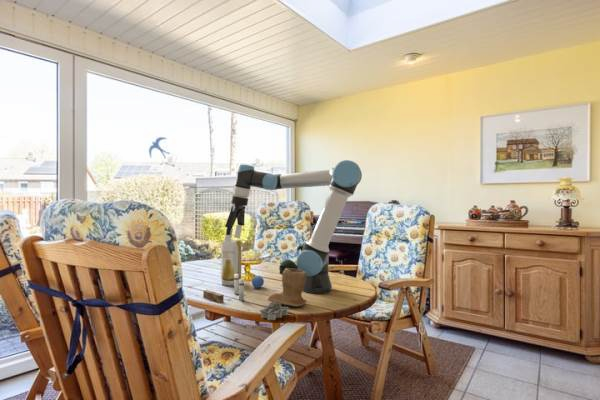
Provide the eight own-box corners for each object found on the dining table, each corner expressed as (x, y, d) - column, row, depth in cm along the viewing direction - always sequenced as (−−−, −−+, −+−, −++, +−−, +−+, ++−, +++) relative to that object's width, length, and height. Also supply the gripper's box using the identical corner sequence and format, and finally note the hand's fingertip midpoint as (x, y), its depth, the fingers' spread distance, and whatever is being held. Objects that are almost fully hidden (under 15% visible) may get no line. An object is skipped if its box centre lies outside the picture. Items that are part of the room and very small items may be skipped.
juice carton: (219, 285, 171) (219, 238, 171) (226, 281, 178) (226, 236, 178) (236, 286, 169) (236, 239, 169) (242, 282, 176) (243, 237, 176)
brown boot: (311, 303, 142) (312, 268, 142) (296, 310, 132) (297, 273, 132) (283, 297, 151) (283, 264, 151) (266, 304, 140) (267, 268, 140)
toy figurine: (297, 276, 199) (271, 280, 178) (299, 244, 200) (274, 245, 180) (310, 278, 194) (285, 283, 173) (312, 246, 195) (288, 247, 175)
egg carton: (277, 310, 133) (277, 300, 133) (291, 315, 128) (291, 304, 128) (257, 317, 125) (257, 306, 125) (270, 322, 120) (271, 310, 120)
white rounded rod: (244, 300, 145) (244, 279, 145) (241, 301, 144) (241, 280, 144) (241, 299, 147) (241, 278, 147) (237, 300, 145) (238, 279, 145)
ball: (266, 287, 167) (266, 275, 167) (257, 290, 162) (257, 277, 162) (258, 285, 170) (258, 273, 170) (249, 287, 166) (249, 275, 166)
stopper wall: (223, 301, 143) (223, 294, 143) (219, 302, 141) (219, 295, 141) (207, 296, 151) (207, 289, 151) (203, 297, 149) (203, 290, 149)
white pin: (239, 293, 155) (239, 274, 155) (236, 294, 154) (236, 275, 154) (236, 292, 157) (236, 273, 157) (233, 293, 155) (233, 274, 155)
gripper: (241, 194, 172) (233, 234, 173) (223, 194, 147) (214, 241, 148) (255, 197, 171) (247, 238, 172) (239, 198, 146) (230, 245, 147)
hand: (232, 239), depth 160 cm, fingers open, 13 cm apart
